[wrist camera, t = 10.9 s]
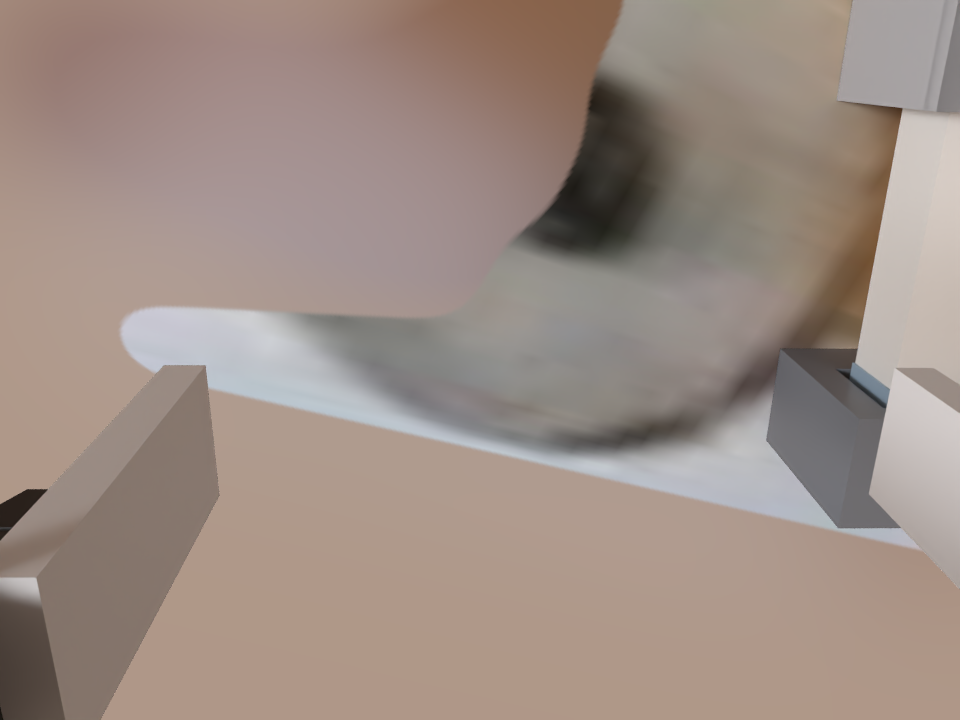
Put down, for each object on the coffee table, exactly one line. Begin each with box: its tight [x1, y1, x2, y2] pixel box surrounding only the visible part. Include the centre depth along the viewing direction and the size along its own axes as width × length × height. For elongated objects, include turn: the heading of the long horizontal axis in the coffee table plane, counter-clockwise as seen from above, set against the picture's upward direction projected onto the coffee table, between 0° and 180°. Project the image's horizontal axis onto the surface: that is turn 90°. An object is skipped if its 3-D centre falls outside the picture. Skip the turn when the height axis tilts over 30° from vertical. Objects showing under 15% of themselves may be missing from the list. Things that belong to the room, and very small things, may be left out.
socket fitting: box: [766, 349, 901, 528], centre depth 45 cm, size 6×9×10 cm, turn 89°
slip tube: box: [849, 108, 960, 408], centre depth 40 cm, size 19×4×4 cm, turn 179°
